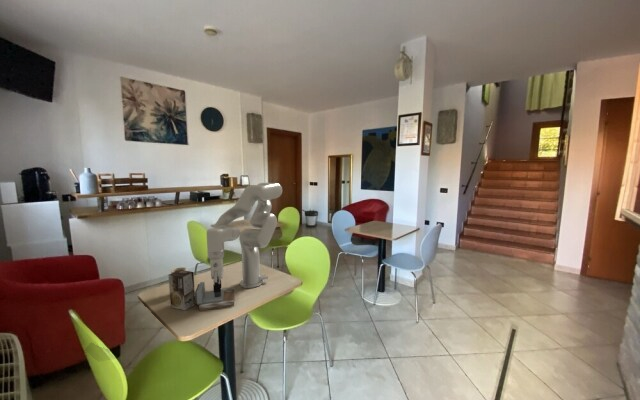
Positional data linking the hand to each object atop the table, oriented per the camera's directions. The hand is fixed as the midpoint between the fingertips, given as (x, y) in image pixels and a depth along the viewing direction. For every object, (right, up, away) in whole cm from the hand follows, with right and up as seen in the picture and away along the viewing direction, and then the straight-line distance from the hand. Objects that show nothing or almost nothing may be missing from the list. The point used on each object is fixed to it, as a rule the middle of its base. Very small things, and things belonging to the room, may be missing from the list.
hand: (217, 289), depth 127 cm
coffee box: (-15, -6, -4) cm, 17 cm away
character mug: (-23, -5, +8) cm, 25 cm away
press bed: (0, -6, +1) cm, 6 cm away
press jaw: (-3, -4, -1) cm, 6 cm away
